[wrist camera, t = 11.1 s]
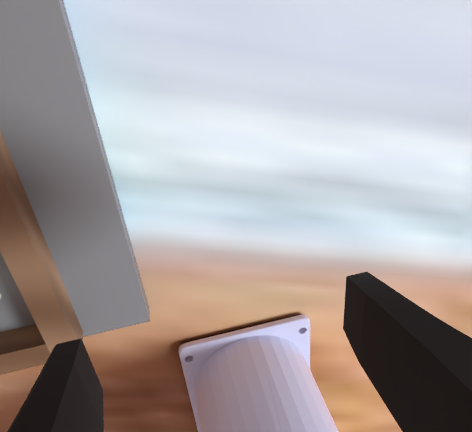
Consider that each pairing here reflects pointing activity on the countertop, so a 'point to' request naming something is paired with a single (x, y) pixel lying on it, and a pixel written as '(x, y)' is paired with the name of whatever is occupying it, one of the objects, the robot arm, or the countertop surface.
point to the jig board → (55, 197)
